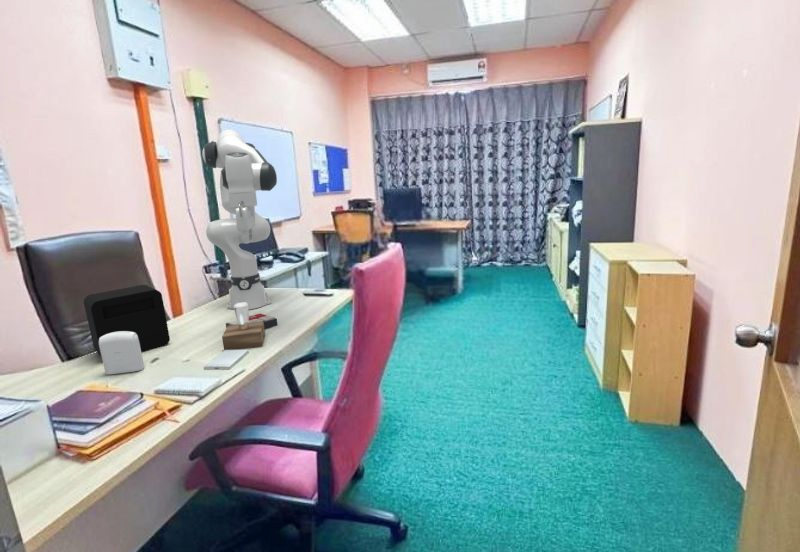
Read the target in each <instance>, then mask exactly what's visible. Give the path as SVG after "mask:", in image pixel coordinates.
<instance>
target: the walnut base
mask: <svg viewBox="0 0 800 552" xmlns="http://www.w3.org/2000/svg"><path fill="white" fill-rule="evenodd" d="M221 338H222V339H221V341H222V345H223V351H225V350H248V349H253V348H260V347H263V346H264V341H265V338H266V329H265V328H264V321H260V322H252V323H249V328H248V329H246V330H239V327H238V324H235V325H228V326H227V328H226V327H225V330H224V331H223V333H222V337H221Z"/></svg>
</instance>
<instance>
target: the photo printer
mask: <svg viewBox="0 0 800 552" xmlns="http://www.w3.org/2000/svg"><path fill="white" fill-rule="evenodd" d="M99 347H100V352H101V356H102V357H101V356H100V357H101V361H102V363H103V370H104V372H105V375H107V376H108V375H110V376H111V375H118V374H126V373H131V372H132V373H133V372H139V371H142V370H143V369H145V362H144V359H143V352H141V348H140V344H139V339H138V335H137V334H136V333H135V332H129V331H118V332H112V333H109V334H106V335H103V336H101V337H100V338H99Z"/></svg>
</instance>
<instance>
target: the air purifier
mask: <svg viewBox="0 0 800 552" xmlns="http://www.w3.org/2000/svg"><path fill="white" fill-rule="evenodd" d="M83 307H84V309H85V314H86V319H87V324H88V327H89V332H90V336H91V342H92V345H93V349H94V350H95V351H96V353H98V355H99V356H100V357H101V358H102V356H101V352H100V347H99V338H100V337H101V336H103V335H106V334H109V333H112V332H118V331H129V332H135V333H136V334H137V335H138V339H139V344H140V348H141V353H143V352H144V353H145V352H148V351H151V350H155V349H158V348H162V347H165V346H167V345H168V344H169V342H170V340H171V339H170V332H169V327H168V322H167V316H166V310H165V306H164V299H163V294H162V292H161V291H160V290H158V289H155V288H153V287H151V286H149V285H146V284H140V285H136V286H130V287H124V288H119V289H112V290H107V291H102V292H97V293H92V294H88V295H86V296H85V297H84V300H83Z"/></svg>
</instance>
